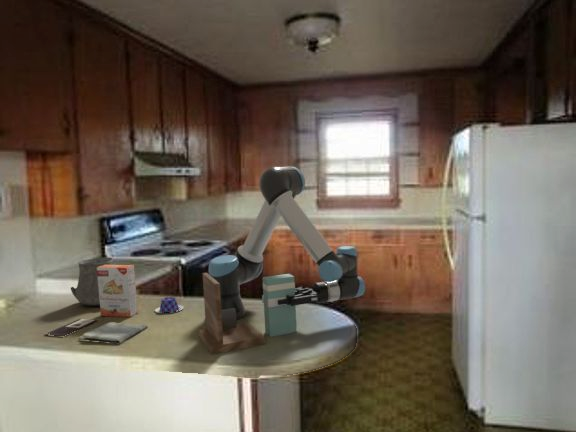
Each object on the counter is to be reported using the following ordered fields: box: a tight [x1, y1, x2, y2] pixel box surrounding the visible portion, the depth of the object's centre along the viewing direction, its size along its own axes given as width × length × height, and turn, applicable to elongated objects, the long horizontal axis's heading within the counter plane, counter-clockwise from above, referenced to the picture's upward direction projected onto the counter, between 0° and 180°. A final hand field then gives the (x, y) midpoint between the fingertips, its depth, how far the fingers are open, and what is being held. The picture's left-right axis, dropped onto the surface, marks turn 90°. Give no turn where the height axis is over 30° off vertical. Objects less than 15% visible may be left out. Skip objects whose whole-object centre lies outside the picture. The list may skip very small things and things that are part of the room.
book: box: [262, 273, 298, 338], centre depth 166 cm, size 5×10×20 cm, turn 113°
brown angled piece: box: [198, 272, 266, 356], centre depth 160 cm, size 18×18×22 cm
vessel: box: [70, 256, 114, 307], centre depth 213 cm, size 22×22×20 cm
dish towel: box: [78, 321, 148, 345], centre depth 172 cm, size 19×18×3 cm
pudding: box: [154, 296, 185, 314], centre depth 199 cm, size 12×12×5 cm
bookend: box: [221, 308, 238, 330], centre depth 165 cm, size 9×3×7 cm, turn 113°
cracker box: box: [97, 264, 139, 318], centre depth 194 cm, size 14×6×21 cm, turn 76°
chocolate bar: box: [45, 318, 99, 336], centre depth 181 cm, size 9×1×18 cm
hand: (265, 301), depth 163 cm, fingers closed on book, 5 cm apart
